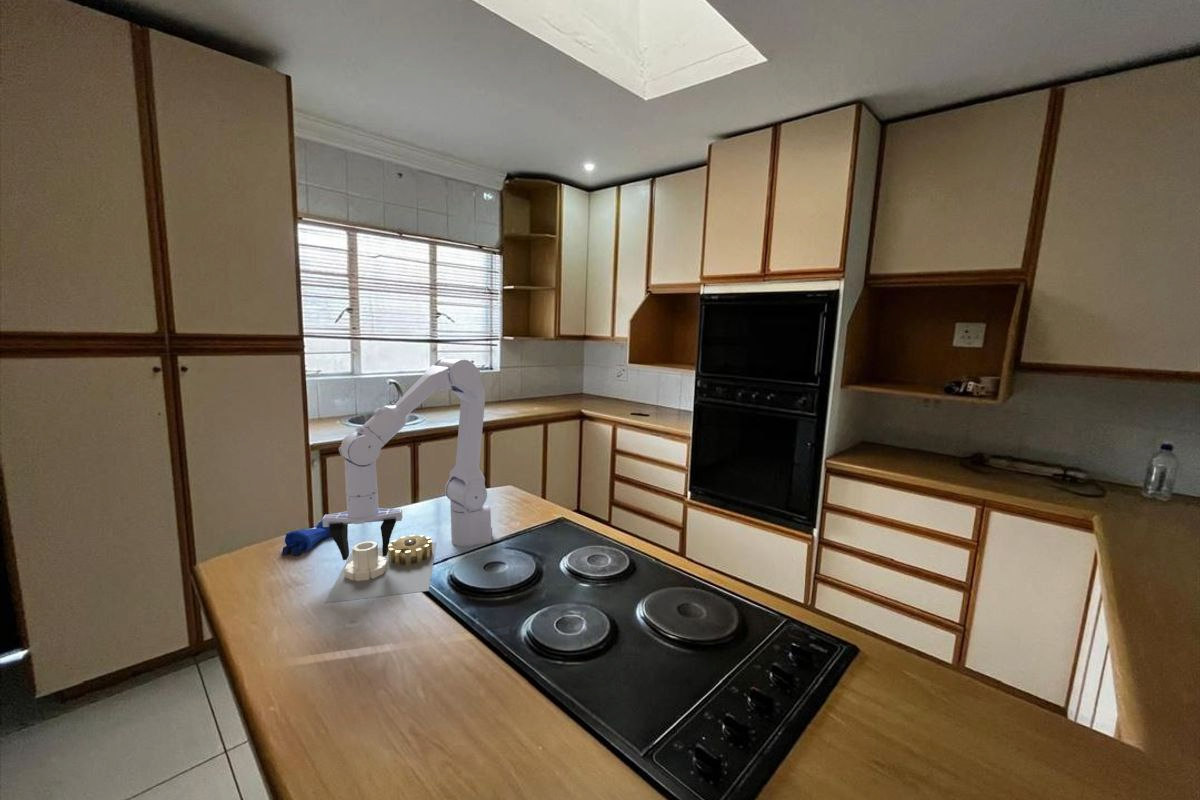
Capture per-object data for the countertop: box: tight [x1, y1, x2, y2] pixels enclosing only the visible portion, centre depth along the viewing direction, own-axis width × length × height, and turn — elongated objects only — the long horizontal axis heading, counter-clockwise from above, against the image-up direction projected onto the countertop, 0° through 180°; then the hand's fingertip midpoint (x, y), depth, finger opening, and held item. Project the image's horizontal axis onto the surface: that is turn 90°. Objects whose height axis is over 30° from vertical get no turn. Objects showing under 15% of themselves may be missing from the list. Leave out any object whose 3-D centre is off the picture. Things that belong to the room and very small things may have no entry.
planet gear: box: [344, 540, 387, 581], centre depth 99 cm, size 8×8×6 cm
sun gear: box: [388, 534, 433, 566], centre depth 106 cm, size 9×9×4 cm
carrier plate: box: [324, 542, 437, 604], centre depth 101 cm, size 18×22×1 cm
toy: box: [281, 519, 333, 557], centre depth 113 cm, size 7×6×15 cm
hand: (365, 555), depth 99 cm, fingers open, 7 cm apart
